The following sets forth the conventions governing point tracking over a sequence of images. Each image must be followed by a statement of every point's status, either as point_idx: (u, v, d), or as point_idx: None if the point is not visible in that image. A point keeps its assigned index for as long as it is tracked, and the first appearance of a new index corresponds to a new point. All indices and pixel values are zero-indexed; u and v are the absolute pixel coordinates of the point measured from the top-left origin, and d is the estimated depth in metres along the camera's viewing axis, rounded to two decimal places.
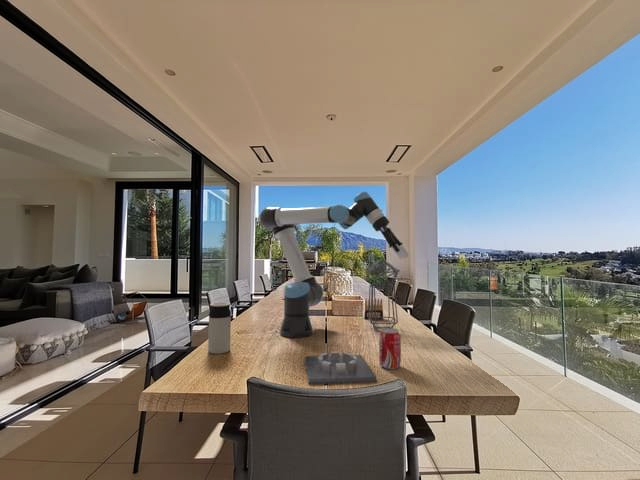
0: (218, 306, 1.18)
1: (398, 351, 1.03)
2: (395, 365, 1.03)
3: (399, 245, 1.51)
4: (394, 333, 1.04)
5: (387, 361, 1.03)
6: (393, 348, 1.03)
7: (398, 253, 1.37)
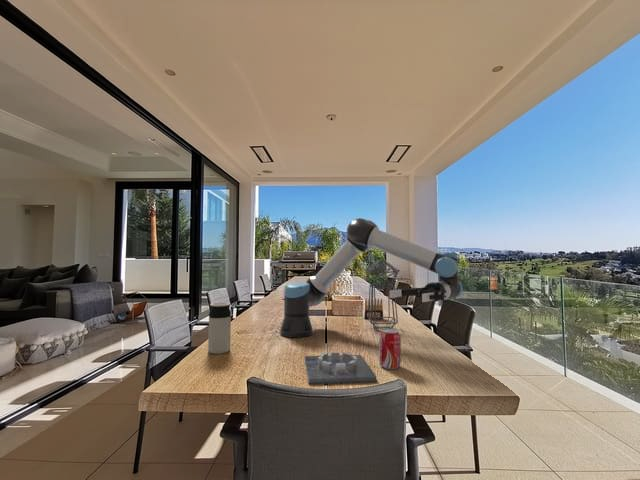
0: (218, 306, 1.18)
1: (398, 351, 1.03)
2: (395, 365, 1.03)
3: None
4: (394, 333, 1.04)
5: (387, 361, 1.03)
6: (393, 348, 1.03)
7: (428, 295, 1.10)
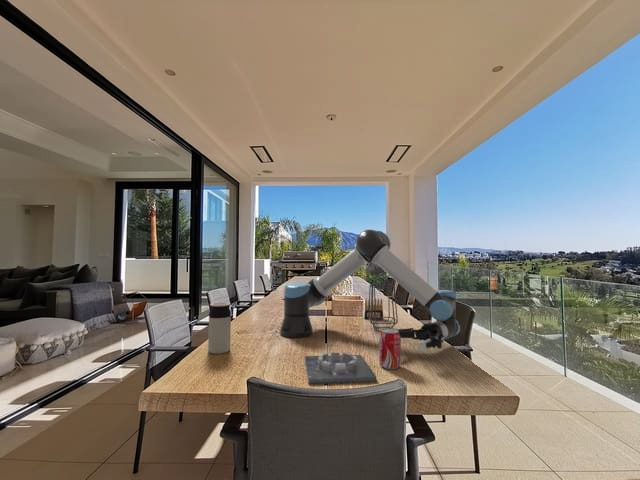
0: (218, 306, 1.18)
1: (398, 351, 1.03)
2: (395, 365, 1.03)
3: None
4: (394, 333, 1.04)
5: (387, 361, 1.03)
6: (393, 348, 1.03)
7: (424, 343, 1.06)
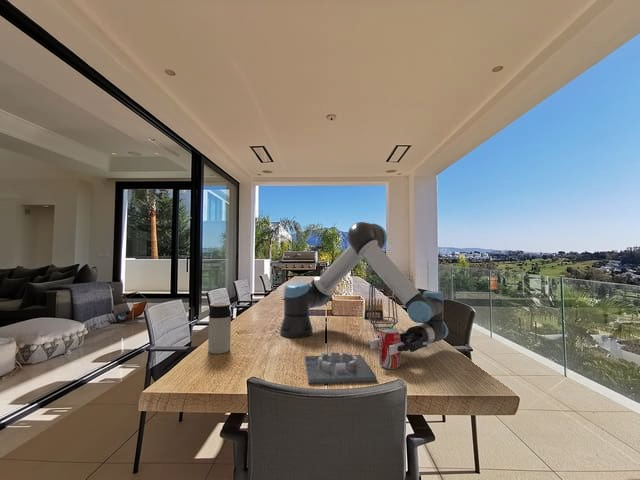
0: (218, 306, 1.18)
1: None
2: (395, 365, 1.03)
3: None
4: (394, 333, 1.04)
5: (387, 361, 1.03)
6: None
7: (396, 347, 1.01)
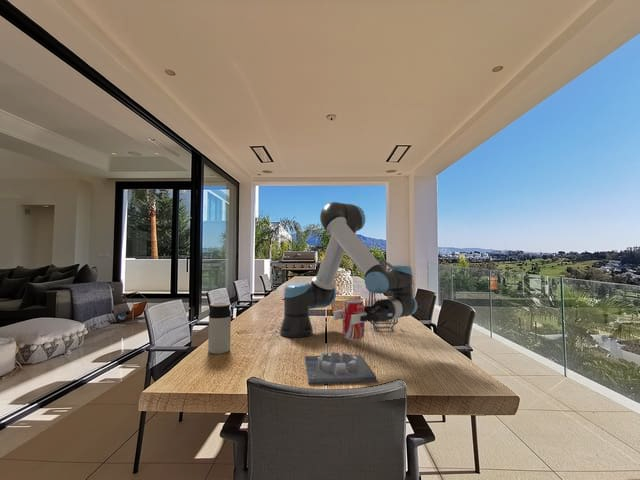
0: (218, 306, 1.18)
1: None
2: (358, 336, 0.99)
3: None
4: (357, 303, 1.00)
5: (349, 332, 1.00)
6: None
7: (358, 317, 0.98)
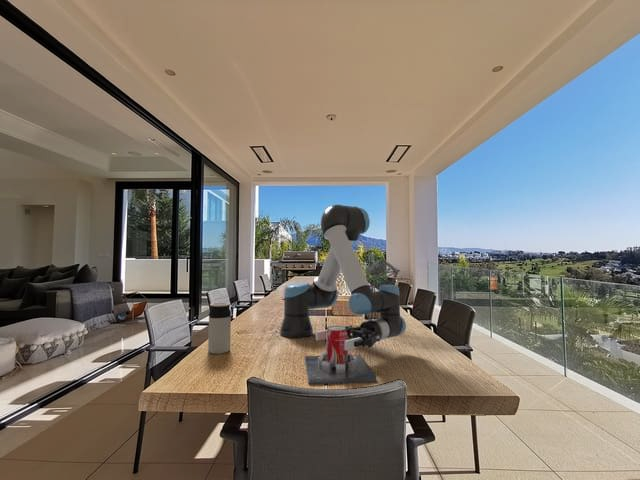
0: (218, 306, 1.18)
1: (344, 349, 1.00)
2: None
3: None
4: (340, 330, 1.00)
5: (332, 360, 0.99)
6: (338, 346, 0.99)
7: (352, 342, 0.97)
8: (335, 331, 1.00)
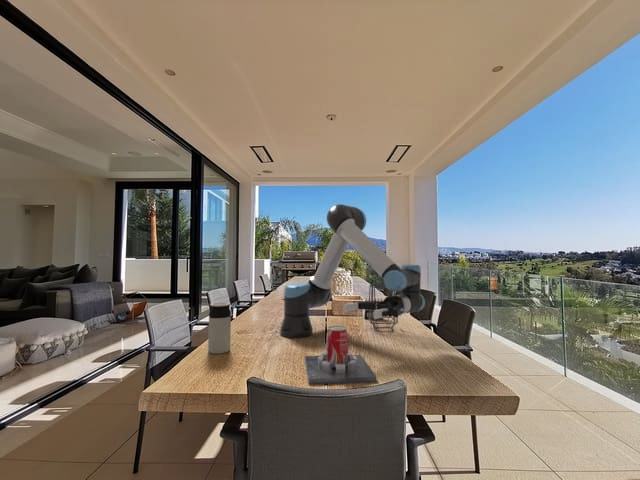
0: (218, 306, 1.18)
1: (344, 349, 1.00)
2: None
3: None
4: (340, 331, 1.00)
5: (332, 360, 0.99)
6: (339, 346, 0.99)
7: (380, 312, 1.05)
8: (336, 331, 1.00)
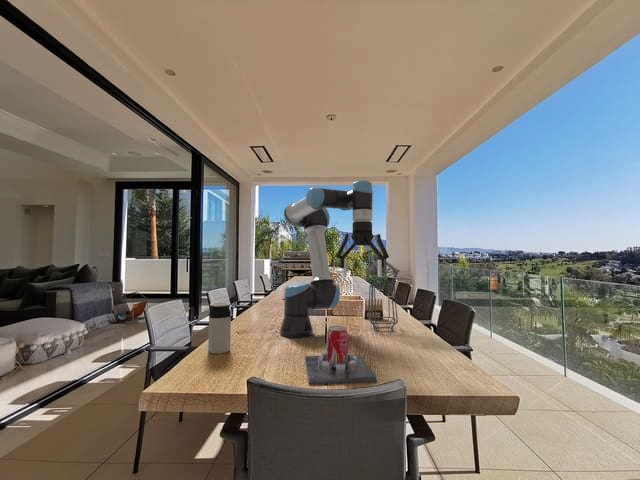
0: (218, 306, 1.18)
1: (344, 349, 1.00)
2: None
3: (380, 259, 1.22)
4: (340, 331, 1.00)
5: (332, 360, 0.99)
6: (339, 346, 0.99)
7: (343, 269, 1.21)
8: (336, 331, 1.00)
